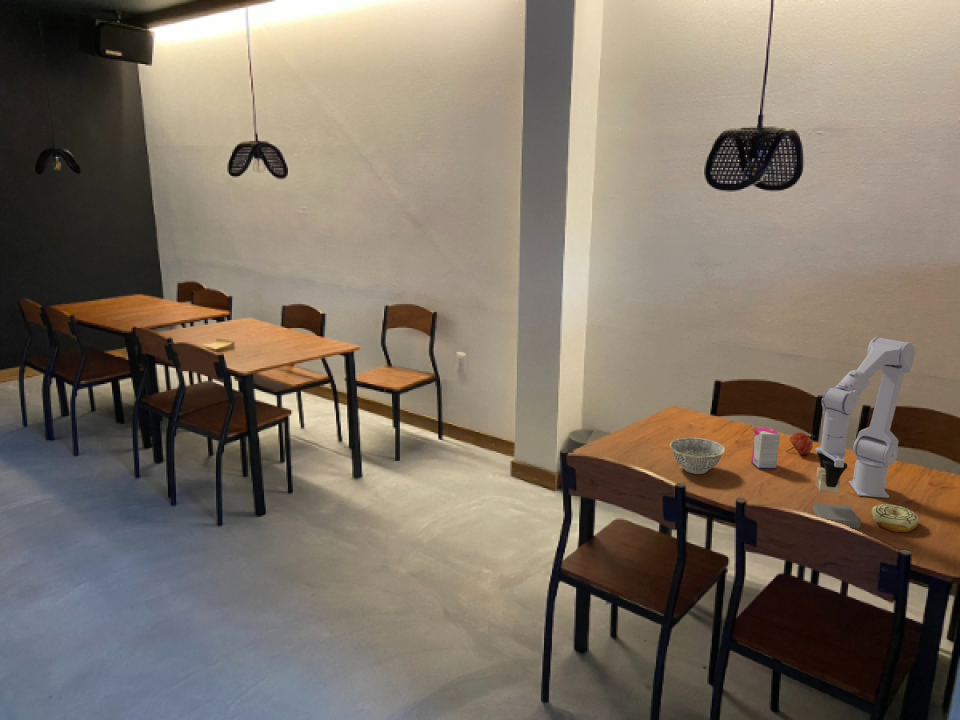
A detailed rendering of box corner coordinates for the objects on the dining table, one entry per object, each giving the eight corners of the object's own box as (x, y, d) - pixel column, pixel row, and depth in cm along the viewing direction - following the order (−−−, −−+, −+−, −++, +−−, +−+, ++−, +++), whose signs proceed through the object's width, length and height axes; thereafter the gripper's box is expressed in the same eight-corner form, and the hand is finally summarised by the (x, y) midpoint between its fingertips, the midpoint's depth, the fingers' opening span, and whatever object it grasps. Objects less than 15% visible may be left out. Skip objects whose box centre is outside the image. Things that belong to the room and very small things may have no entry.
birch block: (815, 484, 191) (817, 467, 189) (833, 486, 190) (835, 468, 188) (819, 491, 186) (821, 474, 185) (838, 493, 185) (840, 475, 184)
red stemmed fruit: (790, 463, 228) (820, 449, 223) (777, 443, 229) (806, 429, 224) (793, 458, 234) (821, 444, 229) (780, 438, 235) (808, 424, 231)
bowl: (662, 474, 214) (664, 450, 212) (675, 456, 228) (676, 434, 226) (717, 484, 207) (719, 460, 205) (726, 465, 221) (728, 442, 219)
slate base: (813, 510, 191) (813, 503, 190) (849, 513, 189) (850, 506, 188) (821, 525, 182) (822, 518, 182) (859, 528, 180) (860, 521, 180)
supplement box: (777, 469, 217) (780, 434, 214) (757, 469, 217) (761, 434, 214) (769, 462, 223) (773, 427, 220) (750, 462, 223) (753, 427, 220)
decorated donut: (868, 527, 181) (870, 514, 181) (872, 511, 190) (874, 498, 189) (916, 538, 176) (918, 524, 175) (917, 520, 185) (919, 507, 184)
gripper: (811, 423, 192) (806, 470, 195) (825, 442, 178) (818, 492, 181) (840, 425, 190) (833, 472, 194) (855, 444, 177) (848, 495, 180)
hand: (828, 482), depth 187 cm, fingers closed on birch block, 4 cm apart
